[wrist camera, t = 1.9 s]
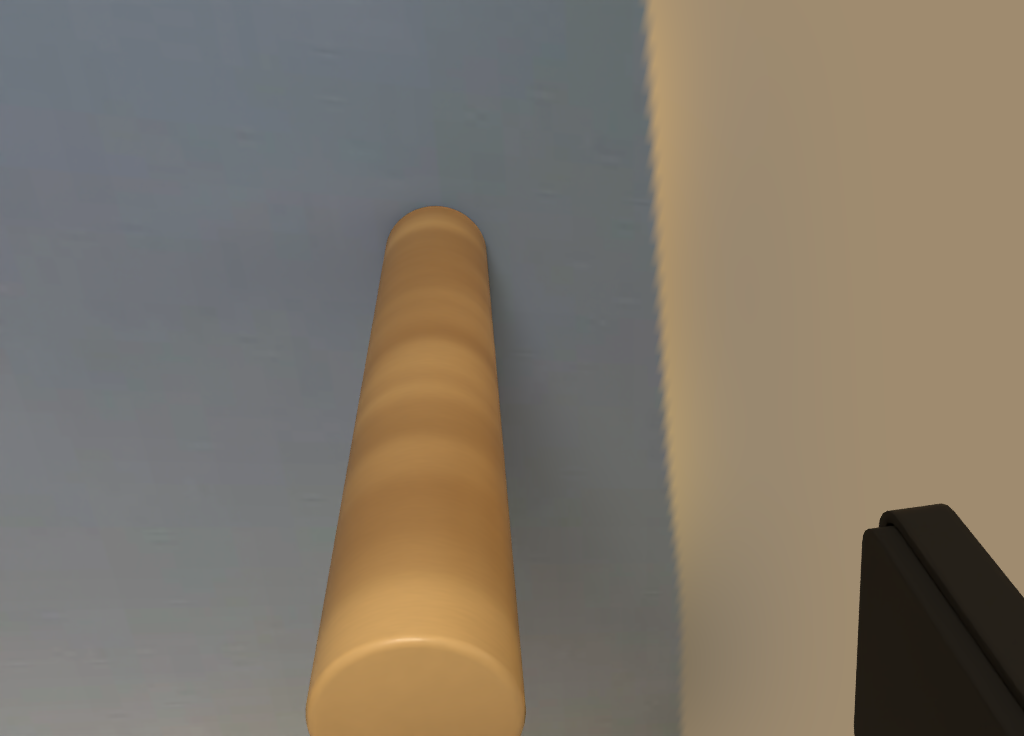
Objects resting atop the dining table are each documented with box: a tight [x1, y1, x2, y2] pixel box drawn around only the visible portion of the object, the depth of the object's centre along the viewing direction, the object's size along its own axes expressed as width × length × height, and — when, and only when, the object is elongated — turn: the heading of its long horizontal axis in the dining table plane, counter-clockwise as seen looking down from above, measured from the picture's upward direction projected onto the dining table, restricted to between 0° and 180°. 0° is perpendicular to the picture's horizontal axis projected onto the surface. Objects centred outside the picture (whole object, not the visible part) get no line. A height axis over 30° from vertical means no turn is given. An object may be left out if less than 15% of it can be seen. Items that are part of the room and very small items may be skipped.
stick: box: [306, 206, 526, 736], centre depth 14 cm, size 2×2×12 cm
